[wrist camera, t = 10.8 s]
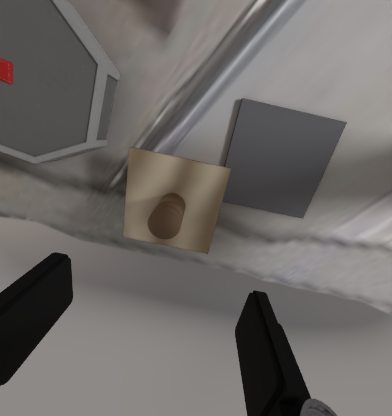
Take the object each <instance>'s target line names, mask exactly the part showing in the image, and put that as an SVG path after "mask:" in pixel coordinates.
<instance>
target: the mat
mask: <svg viewBox="0 0 392 416" xmlns="http://www.w3.org/2000/svg"><path fill="white" fill-rule="evenodd" d="M346 123H347V122H343V121H338V120H334V119H330V118H326V117H321V116H317V115H313V114H308V113H304V112H300V111H296V110H291V109H287V108H283V107H279V106H274V105H270V104H266V103H261V102H257V101H253V100H249V99H244V98H242V101H241V105H240V108H239V112H238V116H237V120H236V124H235V128H234V132H233V135H232V139H231V143H230V147H229V151H228V155H227V158H226V162H225V166H224V167H226V168H230V169H231V171H230V174H229V178H228V181H227V185H226V189H225V192H224V196H223V200H222V202H227V203H232V204H237V205H242V206H246V207H251V208H256V209H261V210H265V211H270V212H275V213H280V214H284V215H289V216H294V217H299V218H303V217H304V215H305V213H306V211H307V208H308V206H309V204H310V202H311V200H312V198H313V195H314V193H315V191H316V189H317V187H318V184H319V182H320V180H321V178H322V176H323V174H324V171H325V169H326V167H327V165H328V163H329V160H330V158H331V156H332V154H333V152H334V150H335V147H336V145H337V143H338V141H339V139H340V136H341V134H342V132H343V130H344V128H345V125H346Z"/></svg>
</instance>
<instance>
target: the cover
mask: <svg viewBox="0 0 392 416" xmlns="http://www.w3.org/2000/svg"><path fill="white" fill-rule="evenodd" d="M230 171H231V169H230V168H226V167H221V166H217V165H212V164H208V163H203V162H198V161H194V160H189V159H185V158H180V157H175V156H171V155H166V154H162V153H157V152H152V151H148V150H143V149H139V148H134V147H129V160H128V173H127V187H126V200H125V214H124V227H123V237H126V238H131V239H136V240H141V241H147V242H152V243H157V244H162V245H167V246H172V247H177V248H182V249H187V250H192V251H197V252H202V253H207V254H208V251H209V247H210V243H211V240H212V236H213V233H214V229H215V225H216V222H217V218H218V214H219V211H220V207H221V203H222V200H223V196H224V192H225V189H226V185H227V181H228V178H229V174H230Z"/></svg>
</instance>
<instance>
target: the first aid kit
mask: <svg viewBox="0 0 392 416" xmlns="http://www.w3.org/2000/svg"><path fill="white" fill-rule="evenodd" d="M119 79H120V73H119V72H118V70H117V69H116V68H115V66H114V65H113V63H112V62H111V60H110V59H109V57H108V56H107V54H106V53H105V52H104V50H103V49H102V47H101V46H100V44H99V43H98V41H97V40H96V39H95V37H94V36H93V34H92V33H91V31H90V30H89V28H88V27H87V26H86V24H85V23H84V21H83V20H82V18H81V17H80V15H79V14H78V13H77V11H76V10H75V8H74V7H73V5H72V4H71V3H70V2H69V1H68V0H0V151H1V152H3V153H6V154H9V155H12V156H15V157H17V158H20V159H23V160H26V161H29V162H31V163H34V164H37V163H43V162H49V161H55V160H60V159H63V158H67V157H70V156H74V155H77V154H81V153H85V152H88V151H92V150H95V149H99V148H102V147H106V146H107V142H108V141H107V140H106V137H107V132H108V126H109V121H110V116H111V110H112V105H113V100H114V94H115V89H116V83H117V81H119Z"/></svg>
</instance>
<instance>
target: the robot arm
mask: <svg viewBox="0 0 392 416" xmlns="http://www.w3.org/2000/svg"><path fill="white" fill-rule="evenodd" d="M72 299H73V290H72V271H71V259H70V258H68V255H66V254H61V253H52V254H51V255H49V256H48V257H47V258H45V259H44V260H43V261H42V262H40V263H39V264H37V265H36V266H35V267H33V268H32V269H31V270H30V271H28V272H27V273H26V274H24V275H23V276H22V277H20V278H19V279H18V280H16V281H15V282H14V283H13V284H11V285H10V286H9V287H7V288H6V289H5V290H3V291H2V292H1V293H0V386H1V385H4V384H5V383H7V382H8V381H9V380H10V378H11V377H12V376H13V375H14V373H15V372H16V371H17V370H18V368H19V367H20V366H21V365H22V364H23V362H24V361H25V360H26V359H27V357H28V356H29V355H30V353H31V352H32V351H33V350H34V349H35V347H36V346H37V345H38V344H39V342H40V341H41V340H42V339H43V337H44V336H45V335H46V334H47V332H48V331H49V330H50V329H51V327H52V326H53V325H54V324H55V322H56V321H57V320H58V319H59V318H60V316H61V315H62V314H63V313H64V311H65V310H66V309H67V308H68V306H69V305H70V304H71V302H72ZM235 337H236V343H237V349H238V356H239V362H240V370H241V376H242V383H243V390H244V395H245V402H246V410H247V416H337V415H336V414H335V413H334V412H333V410H331V408H330V407H328V406H327V405H326V404H324V403H323V402H321V401H319V400H317V399H311V397H310V394H309V392H308V390H307V387H306V385H305V382H304V380H303V377H302V374H301V372H300V369H299V367H298V365H297V362H296V360H295V357H294V355H293V352H292V350H291V347H290V345H289V343H288V340H287V337H286V335H285V333H284V330H283V328H282V326H281V325H280V324H279V323H278V322H277V320H276V317H275V315H274V312H273V309H272V307H271V304H270V302H269V299H268V296H267V294H266V293H265V292H259V291H253V293H250V294H249V295H248V298H247V300H246V303H245V306H244V308H243V310H242V313H241V316H240V318H239V321H238V323H237V326H236V329H235Z"/></svg>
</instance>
